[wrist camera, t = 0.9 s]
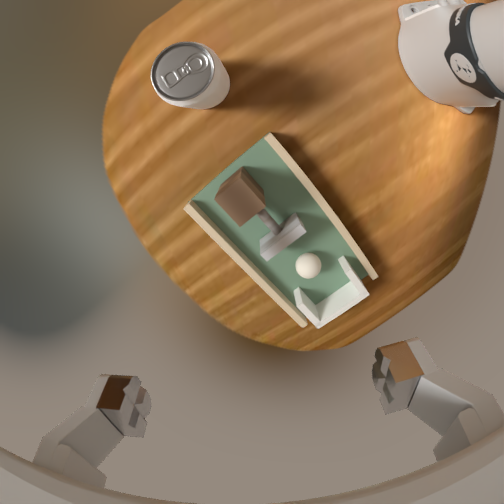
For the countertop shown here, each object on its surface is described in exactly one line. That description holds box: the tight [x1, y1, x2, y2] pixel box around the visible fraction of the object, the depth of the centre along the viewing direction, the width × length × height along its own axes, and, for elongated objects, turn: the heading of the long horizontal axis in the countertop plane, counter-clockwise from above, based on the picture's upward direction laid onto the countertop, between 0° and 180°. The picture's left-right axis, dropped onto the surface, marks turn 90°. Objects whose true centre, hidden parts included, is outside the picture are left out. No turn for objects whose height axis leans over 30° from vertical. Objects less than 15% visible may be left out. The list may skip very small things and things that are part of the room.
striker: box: [214, 166, 307, 261], centre depth 33 cm, size 6×10×7 cm, turn 40°
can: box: [151, 42, 230, 109], centre depth 25 cm, size 6×6×12 cm
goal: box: [294, 256, 369, 329], centre depth 40 cm, size 9×6×4 cm, turn 131°
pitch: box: [184, 132, 378, 328], centre depth 38 cm, size 14×25×3 cm, turn 40°
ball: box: [295, 253, 321, 279], centre depth 39 cm, size 4×4×4 cm
